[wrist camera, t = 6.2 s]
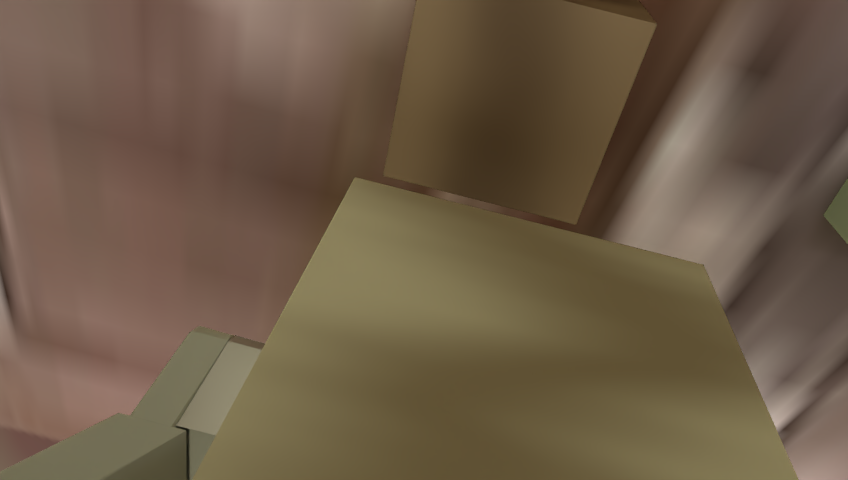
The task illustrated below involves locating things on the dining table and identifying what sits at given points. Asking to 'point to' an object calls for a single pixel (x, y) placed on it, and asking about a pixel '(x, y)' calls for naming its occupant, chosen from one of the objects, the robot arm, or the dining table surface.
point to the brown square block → (515, 98)
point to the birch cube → (493, 359)
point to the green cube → (839, 212)
